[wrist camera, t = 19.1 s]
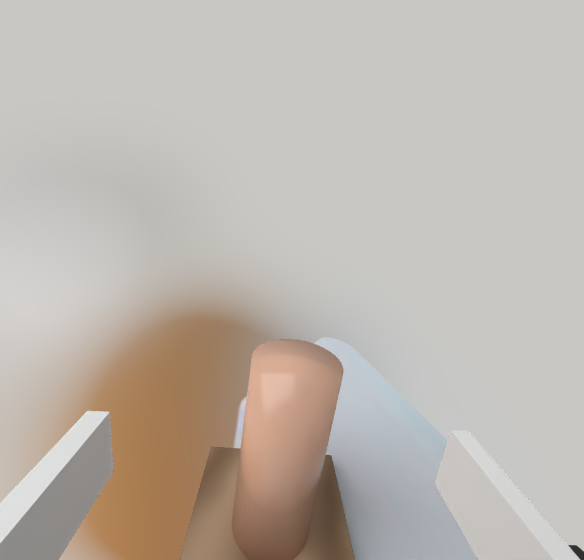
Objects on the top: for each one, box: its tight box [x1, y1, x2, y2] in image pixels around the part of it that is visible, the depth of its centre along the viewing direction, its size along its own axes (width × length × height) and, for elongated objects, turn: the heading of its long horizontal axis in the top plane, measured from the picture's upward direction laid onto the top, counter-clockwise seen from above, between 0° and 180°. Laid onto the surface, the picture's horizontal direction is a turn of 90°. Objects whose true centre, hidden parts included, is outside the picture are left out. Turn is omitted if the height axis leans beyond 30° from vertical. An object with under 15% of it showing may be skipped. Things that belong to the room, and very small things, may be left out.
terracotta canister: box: [232, 339, 343, 560], centre depth 23 cm, size 7×7×16 cm
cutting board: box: [179, 447, 354, 560], centre depth 25 cm, size 14×14×2 cm
